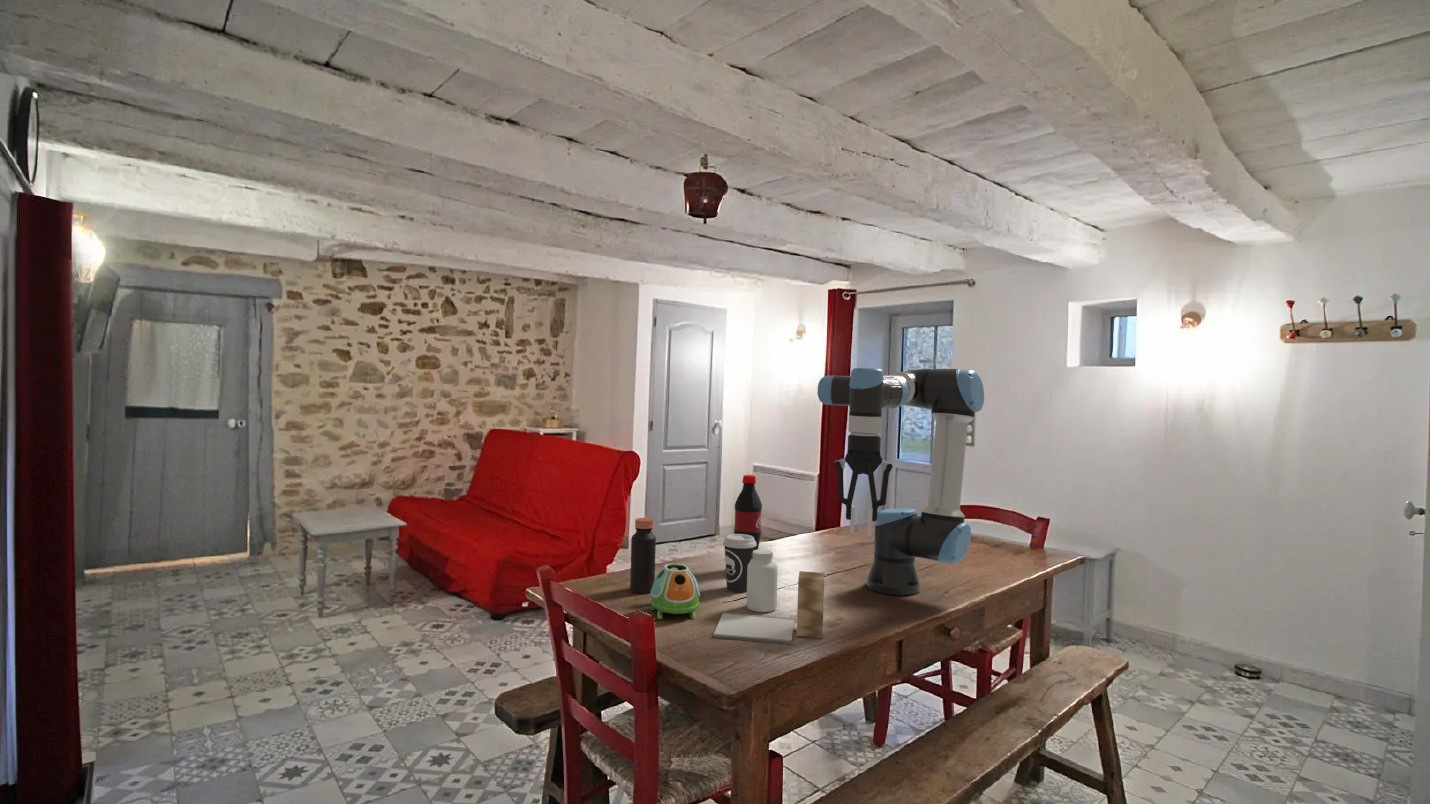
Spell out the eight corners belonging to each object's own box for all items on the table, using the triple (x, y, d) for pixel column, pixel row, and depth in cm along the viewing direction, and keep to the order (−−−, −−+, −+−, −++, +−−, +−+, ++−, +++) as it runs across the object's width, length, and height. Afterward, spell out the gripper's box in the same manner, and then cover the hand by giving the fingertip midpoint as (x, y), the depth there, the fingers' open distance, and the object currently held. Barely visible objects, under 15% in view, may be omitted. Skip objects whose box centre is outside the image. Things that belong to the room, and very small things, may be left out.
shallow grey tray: (794, 620, 181) (794, 618, 181) (791, 644, 165) (791, 641, 165) (723, 615, 184) (723, 612, 184) (712, 637, 168) (713, 634, 168)
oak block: (822, 630, 175) (824, 572, 174) (822, 639, 169) (824, 579, 168) (797, 628, 176) (799, 571, 175) (796, 637, 170) (798, 577, 169)
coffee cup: (752, 595, 201) (754, 541, 200) (718, 592, 202) (720, 539, 202) (757, 586, 210) (759, 534, 209) (724, 583, 212) (726, 532, 211)
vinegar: (659, 590, 203) (661, 519, 202) (641, 595, 198) (643, 522, 197) (643, 585, 207) (645, 515, 206) (625, 590, 202) (626, 518, 201)
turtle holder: (687, 598, 197) (689, 554, 196) (705, 620, 179) (706, 572, 179) (642, 600, 194) (643, 556, 193) (655, 623, 176) (657, 575, 176)
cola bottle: (764, 570, 227) (767, 475, 226) (751, 576, 220) (754, 477, 219) (741, 565, 232) (744, 472, 231) (727, 571, 225) (730, 475, 224)
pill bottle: (744, 603, 194) (746, 547, 193) (774, 603, 194) (775, 547, 194) (748, 613, 186) (750, 555, 185) (779, 613, 187) (781, 555, 186)
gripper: (899, 434, 171) (895, 532, 172) (828, 431, 174) (825, 528, 175) (902, 437, 164) (898, 539, 165) (828, 433, 166) (825, 535, 167)
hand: (860, 533), depth 170 cm, fingers open, 3 cm apart
